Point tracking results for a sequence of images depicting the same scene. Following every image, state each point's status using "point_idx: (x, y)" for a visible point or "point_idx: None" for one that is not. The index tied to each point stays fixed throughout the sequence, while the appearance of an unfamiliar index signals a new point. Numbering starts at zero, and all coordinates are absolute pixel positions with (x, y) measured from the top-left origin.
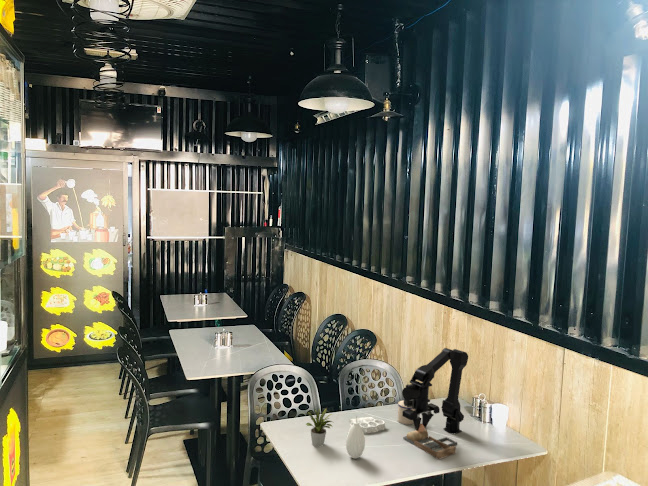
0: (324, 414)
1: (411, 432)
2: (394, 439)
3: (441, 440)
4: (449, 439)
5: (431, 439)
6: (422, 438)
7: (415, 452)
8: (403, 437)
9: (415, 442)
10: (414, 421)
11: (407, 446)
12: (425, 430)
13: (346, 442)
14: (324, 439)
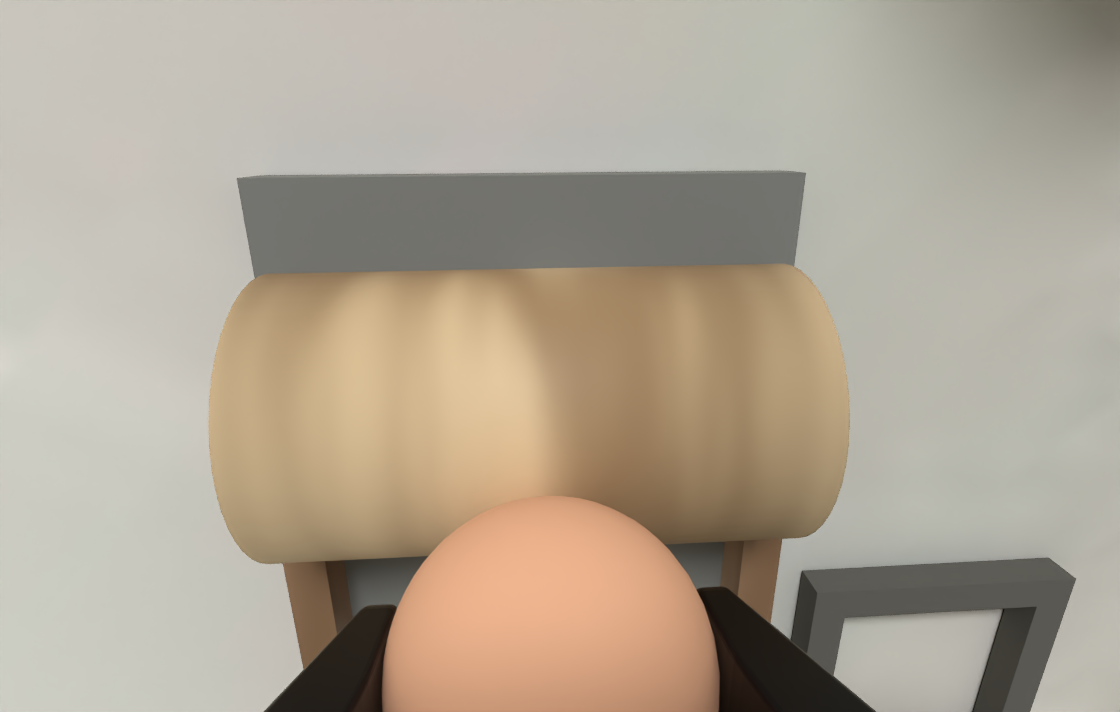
0: None
1: (251, 494)
2: (15, 67)
3: (900, 601)
4: (1021, 662)
5: (725, 586)
6: None
7: (163, 694)
8: (241, 183)
9: (295, 577)
10: None
11: (147, 484)
12: (787, 524)
13: None
14: None
